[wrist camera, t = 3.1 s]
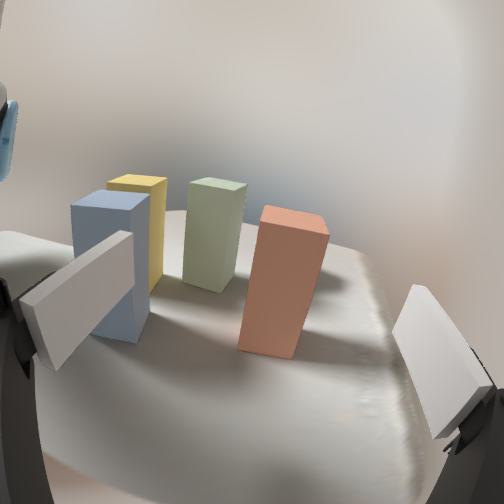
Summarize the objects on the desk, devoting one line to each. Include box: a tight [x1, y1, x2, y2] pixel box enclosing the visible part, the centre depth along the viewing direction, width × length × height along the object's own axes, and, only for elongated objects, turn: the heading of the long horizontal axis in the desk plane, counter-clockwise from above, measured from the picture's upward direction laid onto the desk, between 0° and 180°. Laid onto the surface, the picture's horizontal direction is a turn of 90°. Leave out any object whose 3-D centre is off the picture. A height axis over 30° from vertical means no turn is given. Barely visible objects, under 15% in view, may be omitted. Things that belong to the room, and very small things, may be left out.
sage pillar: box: [182, 177, 248, 294], centre depth 33 cm, size 5×5×12 cm
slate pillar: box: [71, 190, 150, 344], centre depth 22 cm, size 5×5×12 cm
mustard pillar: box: [107, 174, 167, 295], centre depth 30 cm, size 5×5×12 cm
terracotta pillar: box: [237, 205, 330, 359], centre depth 24 cm, size 5×5×12 cm
